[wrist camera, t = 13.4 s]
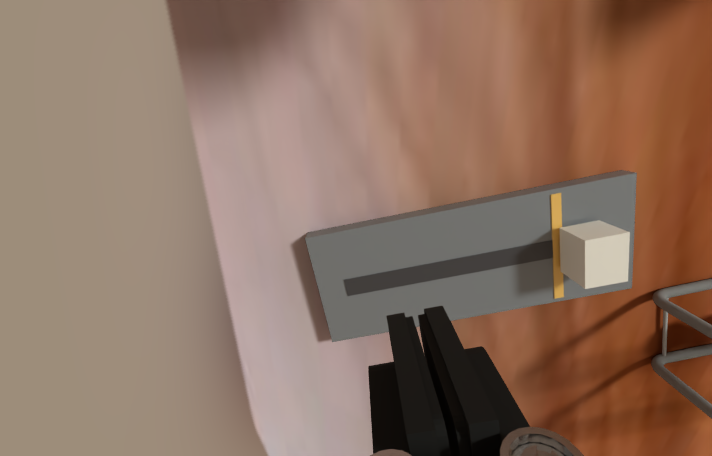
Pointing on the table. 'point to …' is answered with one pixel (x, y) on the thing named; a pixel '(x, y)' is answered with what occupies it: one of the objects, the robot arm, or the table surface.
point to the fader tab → (594, 254)
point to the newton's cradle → (661, 359)
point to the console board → (464, 255)
